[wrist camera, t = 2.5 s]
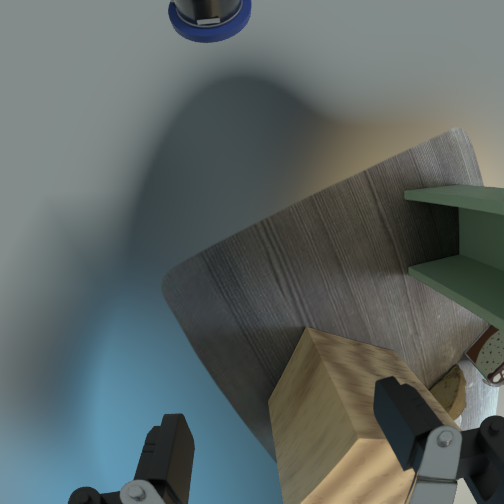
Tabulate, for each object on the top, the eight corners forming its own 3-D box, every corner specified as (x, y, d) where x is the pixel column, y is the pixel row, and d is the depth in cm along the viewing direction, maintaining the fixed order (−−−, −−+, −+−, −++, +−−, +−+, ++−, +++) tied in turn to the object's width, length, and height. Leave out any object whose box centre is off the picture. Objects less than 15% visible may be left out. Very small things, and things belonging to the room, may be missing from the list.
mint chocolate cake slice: (465, 374, 46) (493, 400, 36) (458, 358, 44) (488, 385, 35) (504, 330, 44) (534, 351, 34) (499, 312, 43) (532, 332, 33)
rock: (468, 354, 42) (428, 384, 41) (489, 391, 36) (450, 424, 35) (445, 373, 50) (409, 399, 49) (464, 404, 44) (428, 432, 43)
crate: (267, 401, 43) (285, 517, 22) (306, 326, 41) (358, 438, 20) (352, 416, 45) (396, 510, 24) (394, 350, 43) (468, 437, 22)
